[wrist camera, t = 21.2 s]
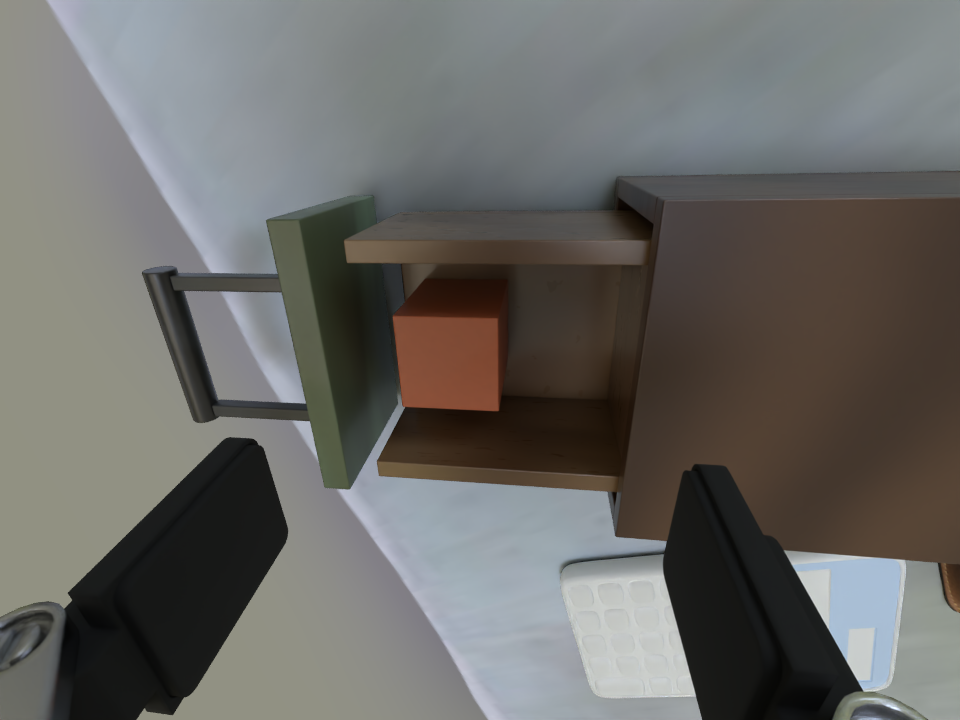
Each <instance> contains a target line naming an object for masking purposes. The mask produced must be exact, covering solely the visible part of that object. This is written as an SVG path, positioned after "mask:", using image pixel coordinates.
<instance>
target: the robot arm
mask: <svg viewBox="0 0 960 720" xmlns="http://www.w3.org/2000/svg"><path fill="white" fill-rule="evenodd" d="M287 536H288V527H287V524H286V520H285V517H284V514H283V511H282V507H281V504H280V501H279V497H278V494H277V491H276V487H275V485H274V481H273V478H272V474H271V471H270V468H269V464H268V461H267V458H266V455H265V451H264V449H263V447H262V446H259V445H258V443H257V441H255V440H254V439H249V438H231V437H229V438H226V439H224V440H223V441H222V442H221V443H220V444H219V445H218V446H217V447H216V448H215V449H214V450H213V451H212V452H211V453H210V454H209V455H208V456H206V458H204V460H202V462H200V463H199V464H198V465H197V466H196V467H195V468H194V469H193V470H192V471H191V472H190V473H189V474H188V475H187V476H186V477H185V478H184V479H183V480H182V481H181V482H180V483H179V484H178V485H177V486H176V487H175V488H174V489H173V490H172V491H171V492H170V493H169V494H168V495H167V496H166V497H165V498H164V499H163V500H162V501H161V502H160V503H159V504H158V505H157V506H156V507H155V508H154V509H153V510H152V511H151V512H150V513H149V514H148V515H146V517H144V519H142V521H140V522H139V523H138V524H137V525H136V526H135V527H134V528H133V529H132V530H131V531H130V532H129V533H128V534H127V535H126V536H125V537H124V538H123V539H122V540H121V541H120V542H119V543H118V544H117V545H116V546H115V547H114V548H113V549H112V550H111V551H110V552H109V553H108V554H107V555H106V556H105V557H104V558H103V559H102V560H101V561H100V562H99V563H98V564H97V565H96V566H95V567H94V568H93V569H92V570H91V571H90V572H89V573H87V574H86V576H85V577H84V578H82V579H81V581H79V582H78V583H77V584H76V585H75V586H74V587H73V588H72V589H71V590H70V591H69V592H68V594H69V596H70V597H71V599H72V601H71V603H70V604H68V606H67V607H66V608H65V609H63V607H62V606H61V605H60V604H58V603H54V602H49V601H48V602H38V603H33V604H30V605H27V606H23V607H20V608H18V609H16V610H14V611H12V612H9V613H8V614H5V615H3V616H1V617H0V720H136V719H137V718H138V717H139V715H140V713H141V712H142V711H143V709H144V708H145V709H146V711H147V712H155V713H161V714H168V715H173V714H174V712H175V711H176V709H177V708H178V706H179V704H180V703H181V701H182V700H183V698H184V697H187V696H189V695H190V694H191V693H192V692H193V691H194V690H195V689H196V687H197V686H198V684H199V683H200V681H201V679H202V678H203V676H204V674H205V673H206V671H207V670H208V668H209V666H210V665H211V663H212V661H213V660H214V658H215V657H216V655H217V653H218V652H219V650H220V649H221V647H222V645H223V644H224V642H225V640H226V639H227V637H228V636H229V634H230V632H231V631H232V629H233V627H234V626H235V624H236V623H237V621H238V619H239V618H240V616H241V614H242V613H243V611H244V610H245V608H246V606H247V605H248V603H249V601H250V600H251V598H252V597H253V595H254V593H255V592H256V590H257V588H258V587H259V585H260V584H261V582H262V580H263V579H264V577H265V575H266V574H267V572H268V571H269V569H270V567H271V566H272V564H273V563H274V561H275V559H276V558H277V556H278V554H279V553H280V551H281V549H282V548H283V546H284V545H285V543H286V540H287ZM663 574H664V579H665V582H666V586H667V590H668V593H669V597H670V601H671V605H672V608H673V612H674V616H675V620H676V623H677V627H678V631H679V634H680V638H681V642H682V646H683V649H684V653H685V657H686V661H687V664H688V668H689V672H690V675H691V679H692V683H693V687H694V690H695V694H696V698H697V702H698V705H699V709H700V713H701V716H702V720H928V719H927V718H925V717H924V716H922V715H921V714H920V713H918V712H917V711H916V710H914V709H913V708H911V707H909V706H907V705H905V704H903V703H901V702H900V701H898V700H896V699H894V698H892V697H888V696H885V695H882V694H878V693H875V692H864V691H863V689H862V688H861V686H860V684H859V682H858V681H857V679H856V677H855V675H854V674H853V672H852V670H851V668H850V666H849V665H848V663H847V661H846V659H845V658H844V656H843V654H842V652H841V651H840V649H839V647H838V645H837V644H836V642H835V640H834V638H833V636H832V635H831V633H830V631H829V629H828V628H827V626H826V624H825V622H824V621H823V619H822V617H821V615H820V614H819V612H818V610H817V608H816V606H815V605H814V603H813V601H812V599H811V598H810V596H809V594H808V592H807V591H806V589H805V587H804V585H803V584H802V582H801V580H800V578H799V576H798V575H797V573H796V571H795V569H794V568H793V566H792V564H791V562H790V561H789V559H788V557H787V555H786V554H785V552H784V550H783V548H782V547H781V545H780V544H779V542H778V541H777V540H776V539H775V538H774V537H772V536H769V535H763V533H762V531H761V529H760V527H759V525H758V524H757V522H756V520H755V518H754V516H753V514H752V512H751V511H750V509H749V507H748V505H747V503H746V501H745V499H744V498H743V496H742V494H741V492H740V490H739V488H738V486H737V485H736V483H735V481H734V479H733V477H732V475H731V474H730V472H729V470H728V469H727V467H726V466H724V465H708V464H694V465H693V467H692V469H691V471H688V470H685V471H684V472H683V474H682V477H681V482H680V486H679V491H678V495H677V500H676V504H675V508H674V513H673V517H672V522H671V526H670V530H669V535H668V539H667V544H666V548H665V552H664V557H663Z"/></svg>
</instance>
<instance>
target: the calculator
mask: <svg viewBox="0 0 960 720" xmlns="http://www.w3.org/2000/svg"><path fill="white" fill-rule="evenodd" d="M784 552H785V554H786V555H787V557H788V559H789V561H790V562H791V564H792V566H793V568H794V569H795V571H796V573H797V575H798V576H799V578H800V580H801V582H802V584H803V585H804V587H805V589H806V591H807V592H808V594H809V596H810V598H811V599H812V601H813V603H814V605H815V606H816V608H817V610H818V612H819V614H820V615H821V617H822V619H823V621H824V622H825V624H826V626H827V628H828V629H829V631H830V633H831V635H832V636H833V638H834V640H835V642H836V644H837V645H838V647H839V649H840V651H841V652H842V654H843V656H844V658H845V659H846V661H847V663H848V665H849V666H850V668H851V670H852V672H853V674H854V675H855V677H856V679H857V681H858V682H859V684H860V686H861V688H862V689H863V691H864V692H870V691H878V690H881V689H885V688H886V687H888V686H889V685H890V683H891V681H892V679H893V675H894V668H895V659H896V651H897V643H898V635H899V627H900V619H901V610H902V602H903V594H904V586H905V577H906V563H905V560H898V559H886V558H873V557H861V556H848V555H836V554H823V553H811V552H798V551H786V550H784ZM663 557H664V554H660V555H650V556H639V557H629V558H618V559H608V560H597V561H587V562H580V563H574V564H570V565H568V566H566V567H565V568H564V569H563V571H562V573H561V577H560V584H561V591H562V596H563V599H564V603H565V606H566V609H567V613H568V616H569V619H570V623H571V626H572V629H573V633H574V636H575V639H576V642H577V646H578V649H579V652H580V656H581V659H582V662H583V666H584V669H585V672H586V675H587V679H588V682H589V685H590V687H591V689H592V691H593V692H594V693H595V694H596V695H597V696H599V697H603V698H647V697H687V696H696V694H695V690H694V687H693V683H692V679H691V675H690V672H689V668H688V664H687V661H686V657H685V653H684V649H683V646H682V642H681V638H680V634H679V631H678V627H677V623H676V620H675V616H674V612H673V608H672V605H671V601H670V597H669V593H668V590H667V586H666V582H665V579H664V574H663Z"/></svg>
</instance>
